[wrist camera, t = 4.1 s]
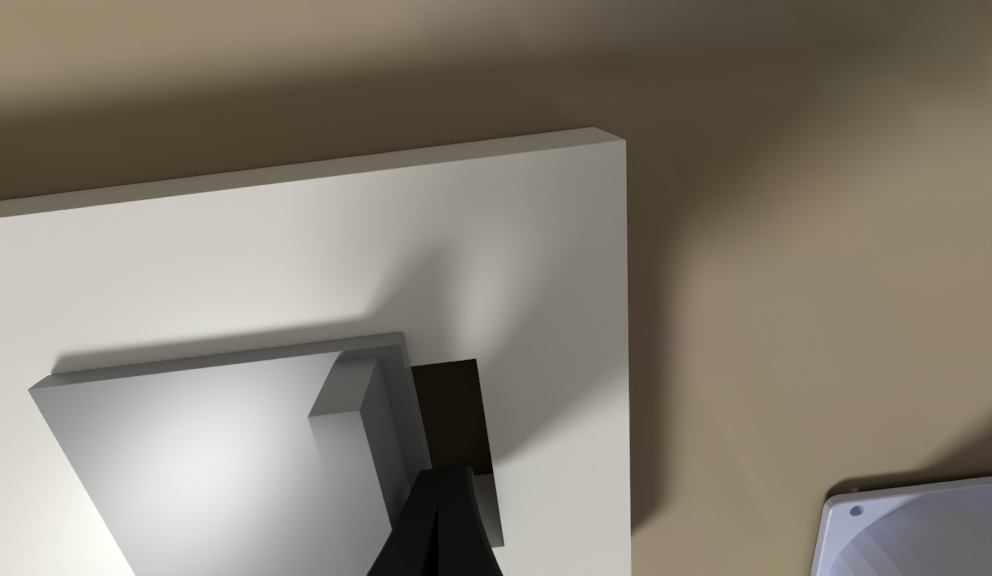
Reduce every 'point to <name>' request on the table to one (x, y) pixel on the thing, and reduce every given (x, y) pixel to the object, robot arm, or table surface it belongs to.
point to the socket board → (345, 319)
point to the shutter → (246, 455)
